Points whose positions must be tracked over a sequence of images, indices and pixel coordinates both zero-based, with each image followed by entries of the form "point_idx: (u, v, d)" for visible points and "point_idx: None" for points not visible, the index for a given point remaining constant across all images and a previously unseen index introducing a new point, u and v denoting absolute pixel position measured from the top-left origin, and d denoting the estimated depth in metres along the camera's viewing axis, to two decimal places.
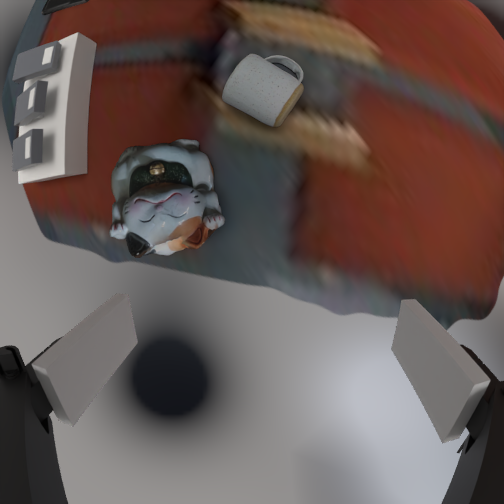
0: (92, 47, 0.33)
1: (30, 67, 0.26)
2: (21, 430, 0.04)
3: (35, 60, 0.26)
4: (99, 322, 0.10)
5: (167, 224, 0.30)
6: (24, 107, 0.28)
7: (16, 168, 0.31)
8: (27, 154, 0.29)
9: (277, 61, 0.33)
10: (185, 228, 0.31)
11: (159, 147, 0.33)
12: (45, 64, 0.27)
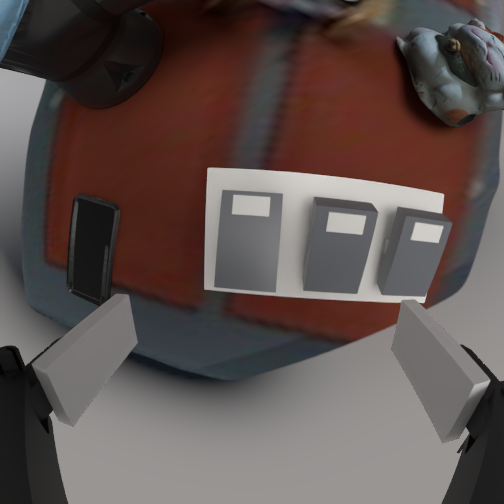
0: None
1: (263, 246, 0.23)
2: (21, 430, 0.04)
3: (251, 234, 0.23)
4: (99, 322, 0.10)
5: (500, 43, 0.15)
6: (345, 255, 0.23)
7: (430, 280, 0.23)
8: (436, 233, 0.21)
9: None
10: (495, 37, 0.15)
11: (422, 49, 0.21)
12: (269, 210, 0.23)
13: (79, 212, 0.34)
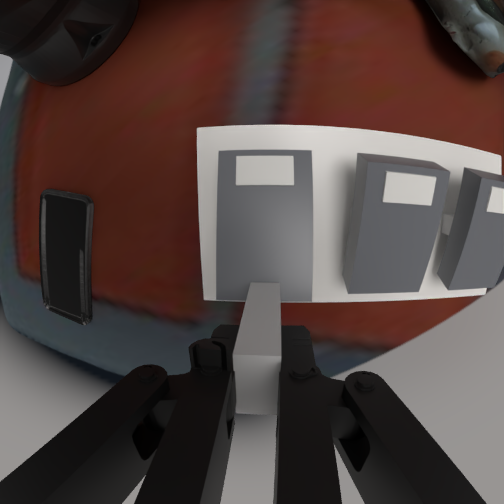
0: None
1: (288, 232, 0.15)
2: (208, 444, 0.05)
3: (268, 214, 0.15)
4: None
5: None
6: (407, 238, 0.14)
7: (501, 266, 0.15)
8: None
9: None
10: None
11: None
12: (293, 176, 0.15)
13: (47, 211, 0.26)
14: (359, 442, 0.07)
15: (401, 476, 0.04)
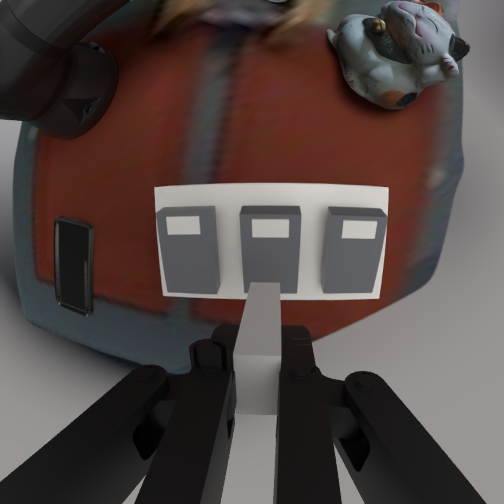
0: None
1: (200, 259, 0.26)
2: (209, 444, 0.05)
3: (188, 250, 0.26)
4: None
5: (431, 12, 0.17)
6: (276, 258, 0.25)
7: (374, 277, 0.26)
8: (370, 229, 0.23)
9: None
10: (428, 7, 0.17)
11: (348, 37, 0.23)
12: (200, 227, 0.25)
13: (60, 233, 0.37)
14: (359, 442, 0.07)
15: (401, 476, 0.04)
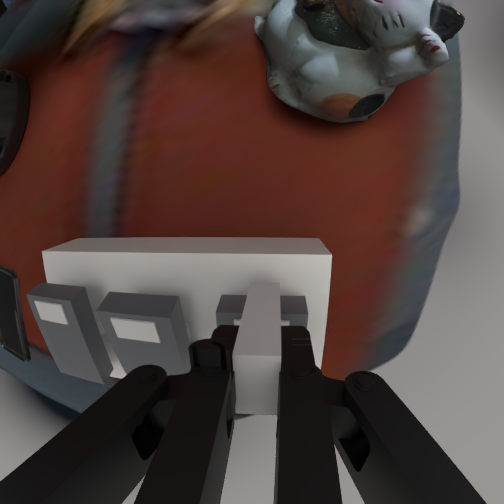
0: (80, 240, 0.25)
1: (76, 349, 0.18)
2: (208, 444, 0.05)
3: (63, 337, 0.18)
4: None
5: None
6: (155, 361, 0.17)
7: None
8: None
9: None
10: None
11: (271, 21, 0.16)
12: (66, 317, 0.17)
13: None
14: (359, 442, 0.07)
15: (401, 476, 0.04)
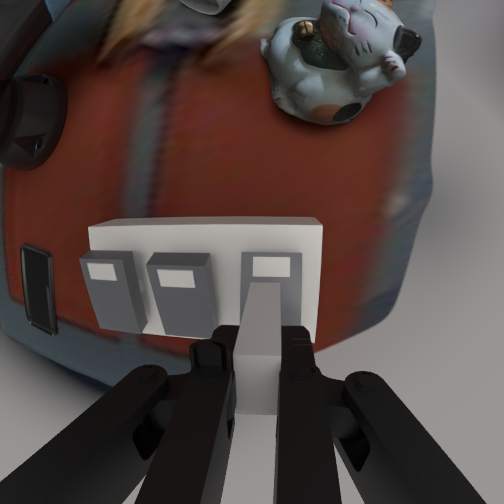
0: (118, 220, 0.32)
1: (120, 302, 0.25)
2: (209, 444, 0.05)
3: (109, 293, 0.25)
4: None
5: (372, 2, 0.16)
6: (188, 306, 0.24)
7: None
8: (283, 266, 0.23)
9: None
10: None
11: (273, 47, 0.22)
12: (116, 274, 0.24)
13: (25, 259, 0.36)
14: (359, 442, 0.07)
15: (401, 476, 0.04)
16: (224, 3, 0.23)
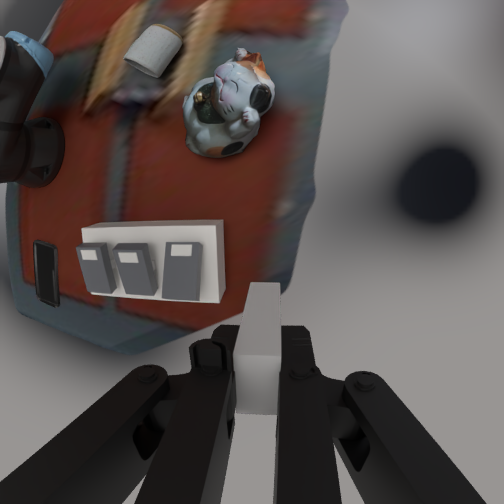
0: (101, 223, 0.48)
1: (99, 273, 0.41)
2: (208, 444, 0.05)
3: (93, 268, 0.40)
4: None
5: (239, 70, 0.31)
6: (136, 274, 0.40)
7: (195, 286, 0.39)
8: (188, 249, 0.40)
9: None
10: (244, 62, 0.32)
11: (184, 109, 0.38)
12: (97, 256, 0.39)
13: (37, 251, 0.51)
14: (359, 442, 0.07)
15: (400, 477, 0.04)
16: (160, 72, 0.38)
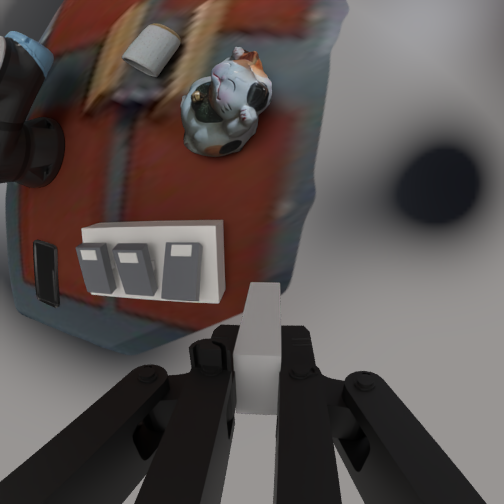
0: (101, 223, 0.48)
1: (99, 273, 0.41)
2: (209, 444, 0.05)
3: (93, 268, 0.40)
4: None
5: (236, 69, 0.31)
6: (136, 274, 0.40)
7: (194, 286, 0.39)
8: (187, 250, 0.40)
9: None
10: (241, 61, 0.32)
11: (182, 109, 0.38)
12: (96, 256, 0.39)
13: (37, 251, 0.51)
14: (359, 442, 0.07)
15: (400, 476, 0.04)
16: (158, 71, 0.38)
